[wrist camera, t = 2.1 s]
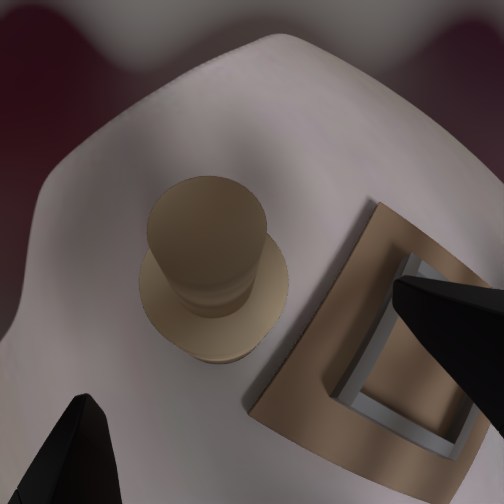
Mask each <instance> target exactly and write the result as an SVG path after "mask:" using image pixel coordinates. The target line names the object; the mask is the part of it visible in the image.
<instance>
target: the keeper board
mask: <svg viewBox="0 0 504 504" xmlns="http://www.w3.org/2000/svg"><path fill="white" fill-rule="evenodd" d="M403 275H410V276H417V277H423V278H429V279H436V280H442V281H448V282H455V283H461V284H467V285H474V286H480V287H486V288H491V287H490V286H489V285H488V284H487V283H486V282H485V281H483V280H482V279H481V278H480V277H479V276H478V275H476V274H475V273H474V272H473V271H472V270H470V269H469V268H468V267H467V266H466V265H464V264H463V263H462V262H461V261H460V260H458V259H457V258H456V257H455V256H453V255H452V254H451V253H450V252H448V251H447V250H446V249H445V248H443V247H442V246H441V245H439V244H438V243H437V242H436V241H434V240H433V239H432V238H430V237H429V236H428V235H426V234H425V233H424V232H422V231H421V230H420V229H418V228H417V227H416V226H414V225H413V224H411V223H410V222H409V221H407V220H406V219H404V218H403V217H402V216H400V215H399V214H397V213H396V212H395V211H393V210H392V209H390V208H389V207H387V206H386V205H384V204H383V203H381V202H379V204H378V205H377V206H376V208H375V209H374V211H373V213H372V215H371V217H370V219H369V221H368V223H367V224H366V226H365V228H364V230H363V232H362V234H361V236H360V237H359V239H358V241H357V243H356V245H355V247H354V248H353V250H352V252H351V254H350V255H349V257H348V259H347V261H346V263H345V264H344V266H343V268H342V269H341V271H340V273H339V275H338V276H337V278H336V280H335V281H334V283H333V285H332V287H331V288H330V290H329V292H328V293H327V295H326V297H325V298H324V300H323V302H322V303H321V305H320V306H319V308H318V310H317V311H316V313H315V315H314V316H313V318H312V319H311V321H310V323H309V324H308V326H307V327H306V329H305V330H304V332H303V334H302V335H301V337H300V338H299V340H298V341H297V343H296V344H295V346H294V347H293V349H292V350H291V352H290V353H289V355H288V356H287V358H286V359H285V361H284V362H283V364H282V365H281V367H280V368H279V370H278V371H277V373H276V374H275V376H274V377H273V378H272V380H271V381H270V383H269V384H268V386H267V387H266V388H265V390H264V391H263V393H262V394H261V396H260V397H259V398H258V400H257V401H256V403H255V404H254V405H253V407H252V408H251V409H250V411H249V412H248V413H247V414H248V415H249V416H250V417H252V418H254V419H255V420H257V421H258V422H260V423H262V424H263V425H265V426H267V427H268V428H270V429H272V430H273V431H275V432H277V433H278V434H280V435H282V436H284V437H285V438H287V439H289V440H291V441H292V442H294V443H296V444H298V445H299V446H301V447H303V448H305V449H307V450H309V451H311V452H312V453H314V454H316V455H318V456H320V457H322V458H324V459H326V460H328V461H330V462H332V463H334V464H336V465H338V466H340V467H342V468H344V469H346V470H348V471H351V472H353V473H355V474H357V475H359V476H362V477H364V478H366V479H368V480H371V481H373V482H375V483H378V484H380V485H382V486H385V487H387V488H390V489H392V490H395V491H397V492H400V493H403V494H405V495H408V496H411V497H413V498H416V499H419V500H422V501H425V502H428V503H431V504H449V503H450V501H451V500H452V498H453V497H454V495H455V493H456V492H457V490H458V488H459V486H460V485H461V483H462V481H463V479H464V478H465V476H466V474H467V472H468V470H469V468H470V467H471V465H472V463H473V461H474V459H475V457H476V455H477V453H478V451H479V448H480V446H481V444H482V442H483V440H484V438H485V435H486V433H487V431H488V428H489V426H490V424H491V422H490V421H489V420H488V419H487V418H486V416H485V415H484V414H483V413H482V412H481V411H480V409H479V408H478V407H477V406H476V405H475V404H474V402H473V401H472V400H471V399H470V398H469V397H468V395H467V394H466V393H465V392H464V391H463V390H462V389H461V388H460V386H459V385H458V384H457V383H456V382H455V381H454V380H453V379H452V377H451V376H450V375H449V374H448V373H447V372H446V371H445V370H444V369H443V368H442V366H441V365H440V364H439V363H438V362H437V361H436V360H435V359H434V358H433V357H432V356H431V355H430V353H429V352H428V351H427V350H426V349H425V348H424V347H423V346H422V345H421V343H420V342H419V341H418V340H417V338H416V337H415V336H414V335H413V333H412V332H411V331H410V329H409V328H408V327H407V325H406V324H405V323H404V321H403V320H402V319H401V318H400V316H399V315H398V314H397V313H396V311H395V310H394V308H393V305H392V287H393V281H394V280H395V279H397V278H399V277H401V276H403Z"/></svg>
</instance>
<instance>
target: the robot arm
mask: <svg viewBox="0 0 504 504" xmlns="http://www.w3.org/2000/svg"><path fill="white" fill-rule="evenodd" d="M392 305H393V308H394V310H395V311H396V313H397V314H398V315H399V316H400V318H401V319H402V320H403V321H404V323H405V324H406V325H407V327H408V328H409V329H410V331H411V332H412V333H413V335H414V336H415V337H416V338H417V340H418V341H419V342H420V343H421V345H422V346H423V347H424V348H425V349H426V350H427V351H428V352H429V353H430V355H431V356H432V357H433V358H434V359H435V360H436V361H437V362H438V363H439V364H440V365H441V366H442V368H443V369H444V370H445V371H446V372H447V373H448V374H449V375H450V376H451V377H452V379H453V380H454V381H455V382H456V383H457V384H458V385H459V386H460V388H461V389H462V390H463V391H464V392H465V393H466V394H467V395H468V397H469V398H470V399H471V400H472V401H473V402H474V404H475V405H476V406H477V407H478V408H479V409H480V411H481V412H482V413H483V414H484V415H485V416H486V418H487V419H488V420H489V421H490V422H491V424H492V425H493V426H494V427H495V428H496V430H497V431H499V433H500V435H501V436H502V437H503V438H504V290H499V289H492V288H486V287H480V286H474V285H467V284H461V283H455V282H448V281H442V280H436V279H429V278H423V277H417V276H410V275H403V276H401V277H399V278H397V279H395V280H394V281H393V287H392ZM8 504H122V499H121V493H120V486H119V479H118V472H117V466H116V461H115V457H114V452H113V448H112V443H111V438H110V433H109V428H108V423H107V418H106V415H105V413H104V412H103V410H102V409H101V408H100V407H99V405H98V404H97V403H96V401H95V400H94V399H93V398H92V396H91V395H89V394H87V393H85V394H81V395H77V396H75V397H74V398H73V399H72V401H71V402H70V404H69V405H68V407H67V408H66V410H65V411H64V413H63V414H62V416H61V417H60V419H59V420H58V422H57V423H56V425H55V426H54V428H53V430H52V431H51V433H50V434H49V436H48V437H47V439H46V441H45V442H44V444H43V445H42V447H41V448H40V450H39V452H38V453H37V455H36V456H35V458H34V460H33V461H32V463H31V465H30V466H29V468H28V470H27V471H26V473H25V475H24V476H23V478H22V480H21V481H20V483H19V485H18V487H17V489H16V490H15V492H14V493H13V495H12V497H11V499H10V500H9V502H8Z"/></svg>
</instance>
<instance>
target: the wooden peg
mask: <svg viewBox="0 0 504 504" xmlns="http://www.w3.org/2000/svg"><path fill="white" fill-rule="evenodd" d="M147 238H148V243H149V247H150V248H149V249H148V251H147V253H146V255H145V258H144V260H143V263H142V267H141V270H140V278H139V290H140V297H141V301H142V304H143V308H144V310H145V312H146V314H147V316H148V318H149V320H150V321H151V323H152V324H153V326H154V327H155V328H156V329H157V330H158V332H159V333H160V334H162V335H163V336H164V337H165V338H166V339H167V340H169V341H170V342H172V343H173V344H175V345H176V346H178V347H179V348H181V349H182V350H184V351H185V352H187V353H188V354H190V355H191V356H193V357H195V358H196V359H198V360H200V361H203V362H206V363H211V364H227V363H232V362H235V361H237V360H240V359H242V358H243V357H245V356H246V355H248V354H249V353H250V352H251V351H252V350H253V349H254V348H255V347H256V346H257V345H258V344H259V342H260V341H261V340H262V339H263V338H264V337H265V335H266V334H267V333H268V332H269V331H270V330H271V328H272V327H273V326H274V324H275V323H276V322H277V320H278V318H279V317H280V315H281V313H282V311H283V308H284V306H285V303H286V299H287V295H288V286H289V285H288V272H287V266H286V263H285V260H284V257H283V255H282V253H281V251H280V249H279V247H278V246H277V244H276V243H275V241H274V240H273V239H272V238H271V236H270V235H269V234H268V233H267V222H266V216H265V213H264V210H263V208H262V206H261V204H260V202H259V201H258V199H257V198H256V197H255V196H254V195H253V193H252V192H250V191H249V190H248V189H247V188H245V187H244V186H243V185H241V184H239V183H237V182H235V181H233V180H230V179H227V178H223V177H217V176H200V177H194V178H190V179H187V180H184V181H182V182H180V183H178V184H176V185H174V186H173V187H171V188H170V189H169V190H167V191H166V192H165V193H164V194H163V195H162V196H161V197H160V198H159V199H158V201H157V202H156V204H155V205H154V207H153V209H152V211H151V213H150V216H149V219H148V224H147Z"/></svg>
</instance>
